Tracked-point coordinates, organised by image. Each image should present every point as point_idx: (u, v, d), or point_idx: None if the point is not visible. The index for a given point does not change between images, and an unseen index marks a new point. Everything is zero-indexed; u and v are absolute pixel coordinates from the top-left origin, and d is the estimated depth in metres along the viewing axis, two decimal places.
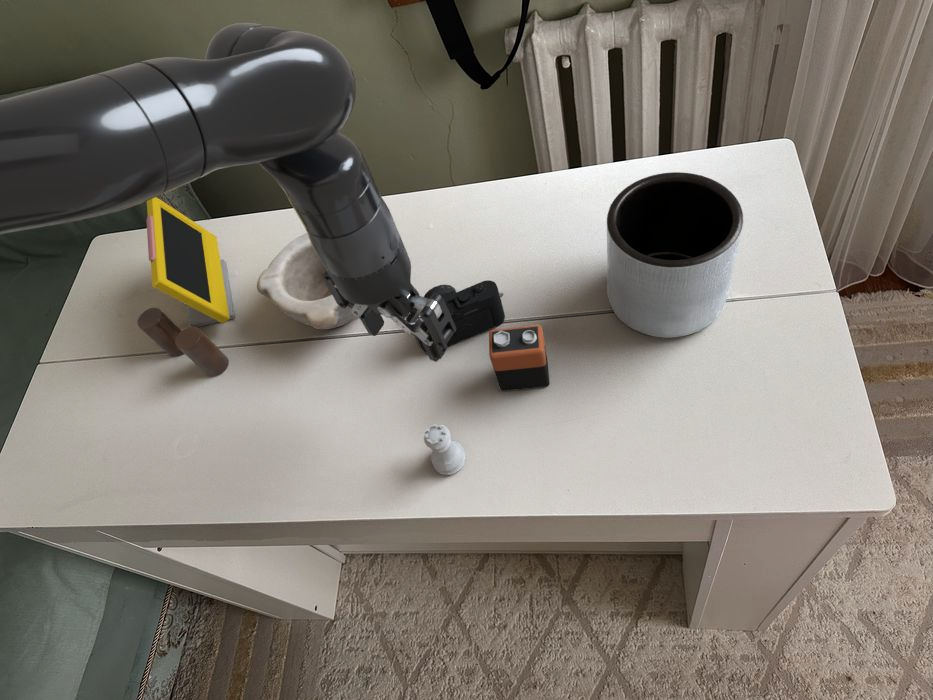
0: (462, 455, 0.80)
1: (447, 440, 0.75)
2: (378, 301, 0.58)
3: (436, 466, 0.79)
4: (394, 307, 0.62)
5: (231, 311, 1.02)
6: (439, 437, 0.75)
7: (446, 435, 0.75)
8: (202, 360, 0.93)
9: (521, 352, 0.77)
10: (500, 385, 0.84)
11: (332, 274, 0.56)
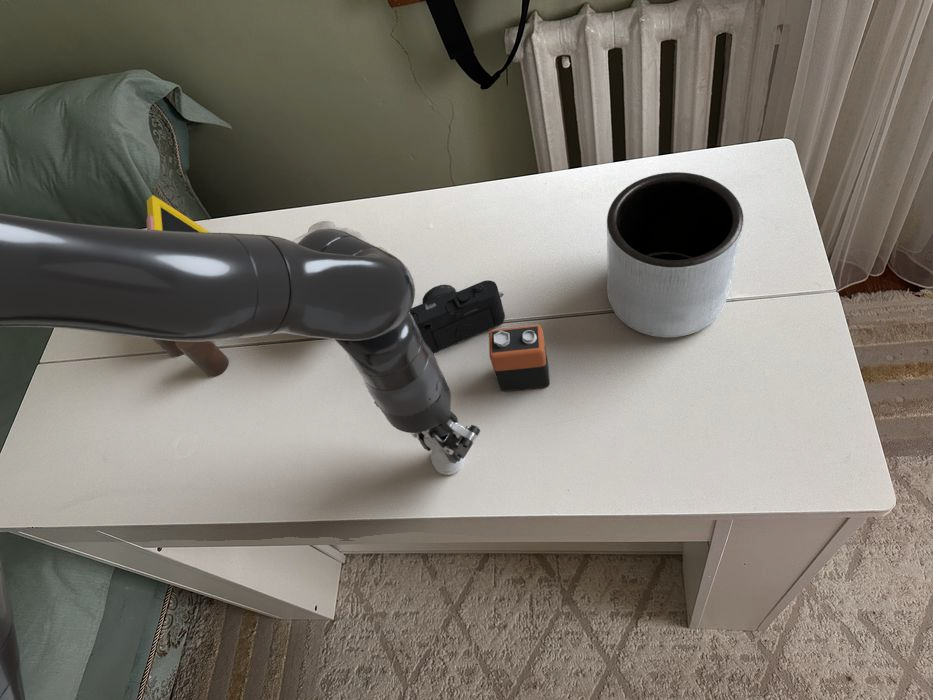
0: None
1: None
2: (423, 430, 0.66)
3: (436, 466, 0.79)
4: (435, 429, 0.69)
5: None
6: None
7: None
8: (202, 360, 0.93)
9: (521, 352, 0.77)
10: (500, 385, 0.84)
11: (383, 411, 0.64)
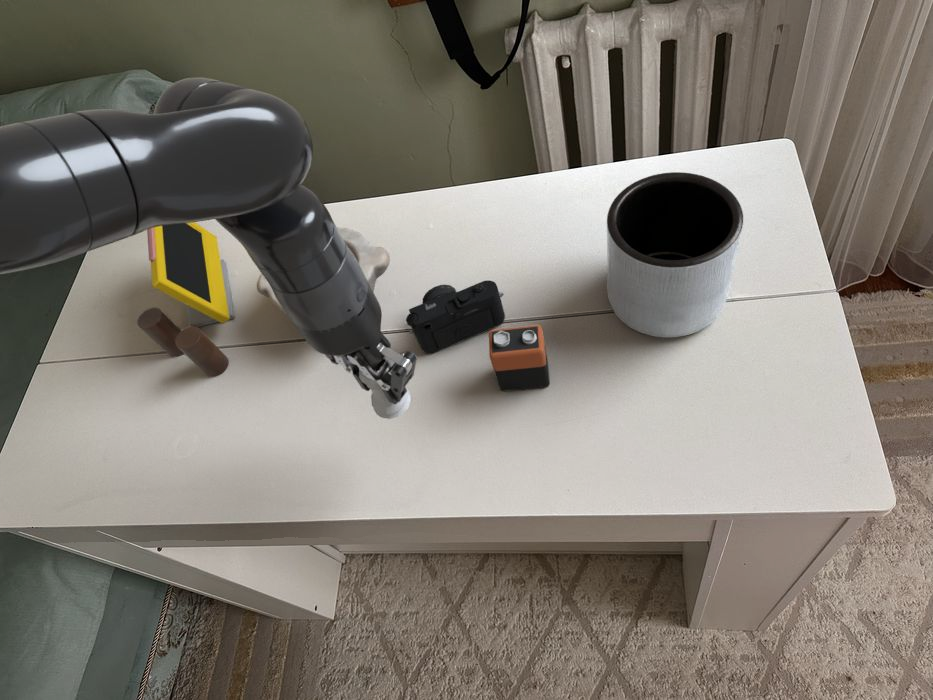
0: (406, 396, 0.70)
1: None
2: (346, 352, 0.56)
3: (376, 409, 0.70)
4: (364, 356, 0.60)
5: (231, 311, 1.02)
6: None
7: None
8: (202, 360, 0.93)
9: (521, 352, 0.77)
10: (500, 385, 0.84)
11: (297, 325, 0.54)
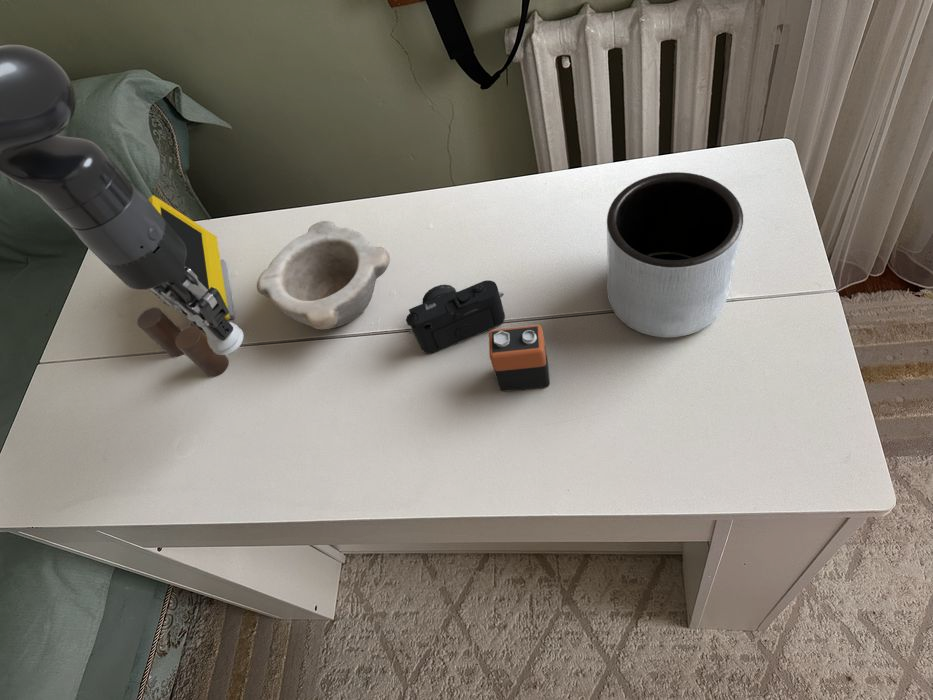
0: (237, 335, 0.80)
1: None
2: (150, 286, 0.66)
3: (210, 346, 0.80)
4: (176, 292, 0.69)
5: (231, 311, 1.02)
6: None
7: None
8: (202, 360, 0.93)
9: (521, 352, 0.77)
10: (500, 385, 0.84)
11: None
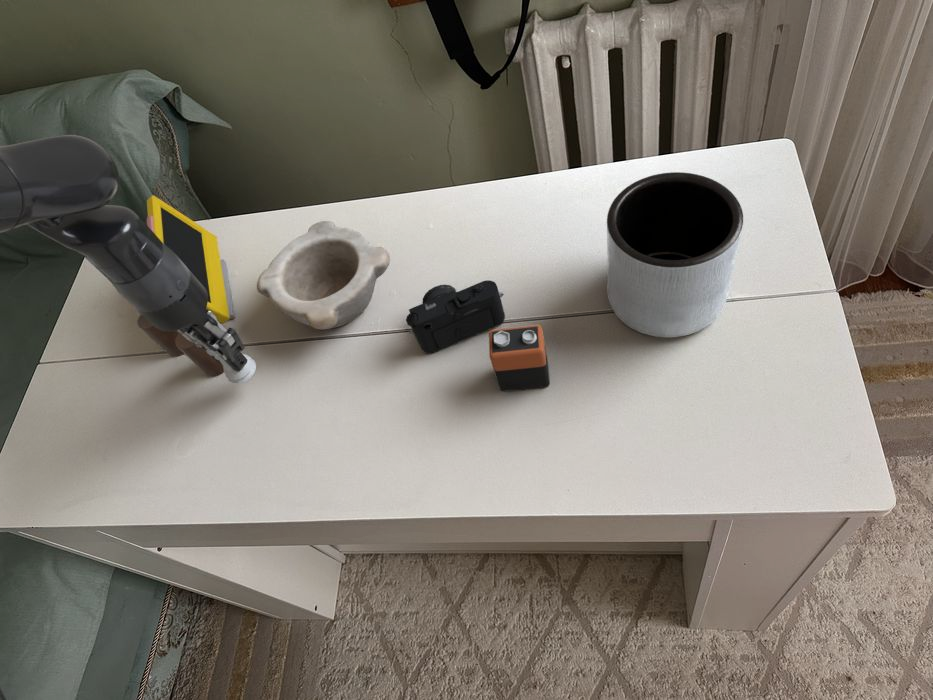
0: (250, 366, 0.89)
1: None
2: (177, 328, 0.75)
3: (226, 376, 0.89)
4: (198, 332, 0.79)
5: (231, 311, 1.02)
6: None
7: None
8: (202, 360, 0.93)
9: (521, 352, 0.77)
10: (500, 385, 0.84)
11: (135, 308, 0.73)
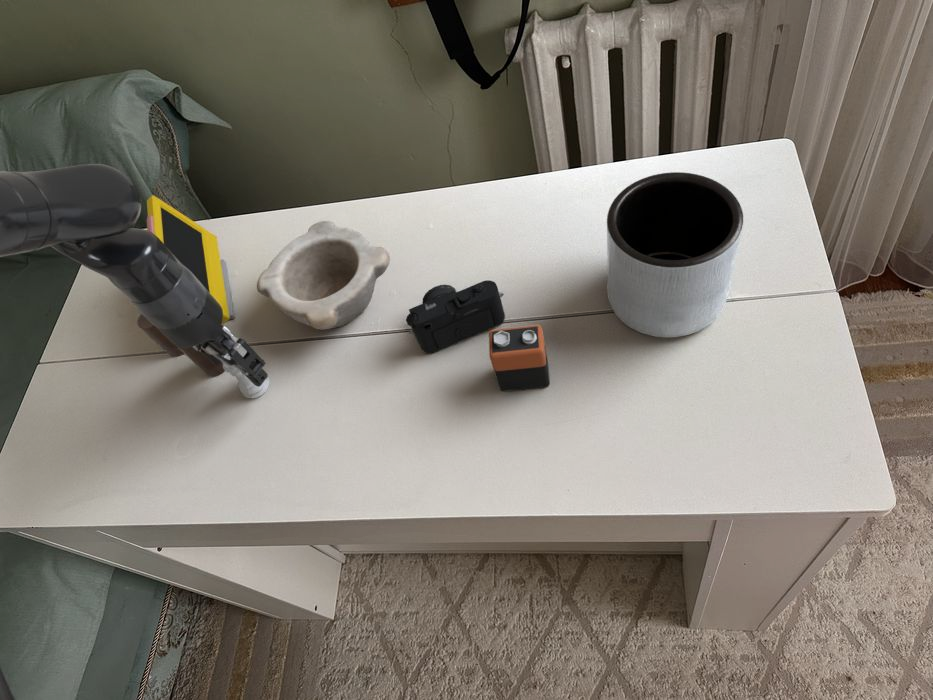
0: (264, 381, 0.92)
1: None
2: (193, 344, 0.78)
3: (241, 390, 0.92)
4: (213, 347, 0.82)
5: (231, 311, 1.02)
6: None
7: None
8: (202, 360, 0.93)
9: (521, 352, 0.77)
10: (500, 385, 0.84)
11: (154, 325, 0.76)
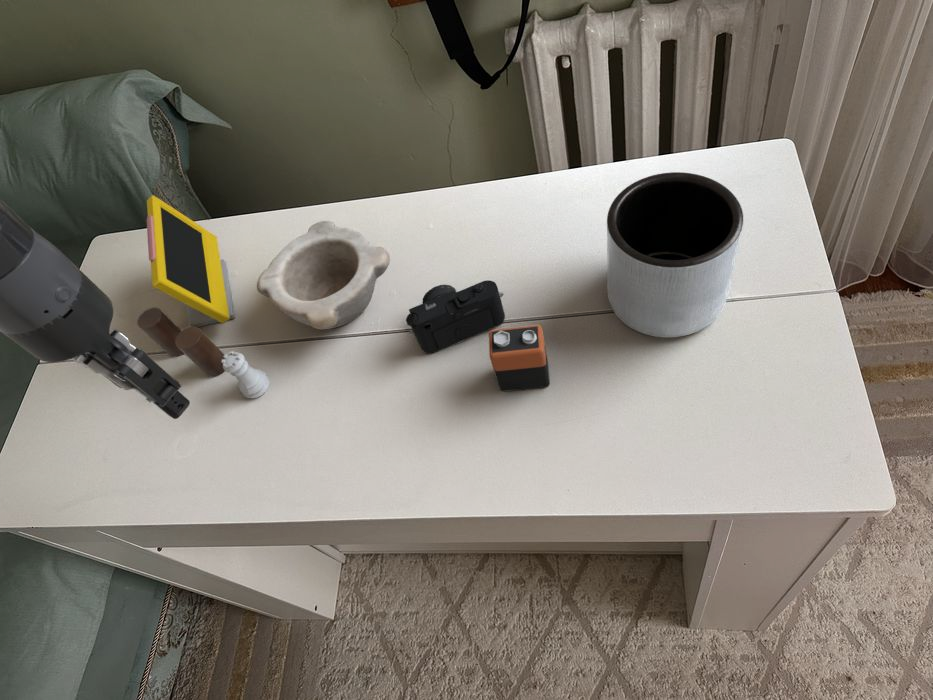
0: (264, 381, 0.92)
1: (240, 364, 0.88)
2: (63, 358, 0.52)
3: (241, 390, 0.92)
4: (100, 362, 0.55)
5: (231, 311, 1.02)
6: (233, 361, 0.88)
7: (240, 360, 0.88)
8: (202, 360, 0.93)
9: (521, 352, 0.77)
10: (500, 385, 0.84)
11: None
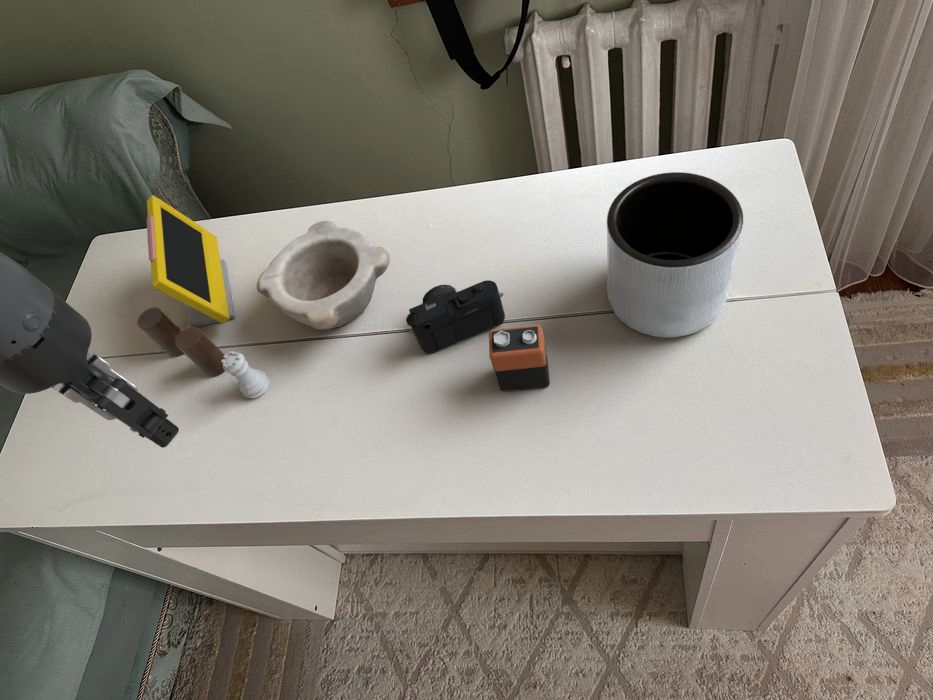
0: (264, 381, 0.92)
1: (240, 364, 0.88)
2: (36, 390, 0.47)
3: (241, 390, 0.92)
4: (78, 391, 0.50)
5: (231, 311, 1.02)
6: (233, 362, 0.88)
7: (240, 360, 0.88)
8: (202, 360, 0.93)
9: (521, 352, 0.77)
10: (500, 385, 0.84)
11: None
